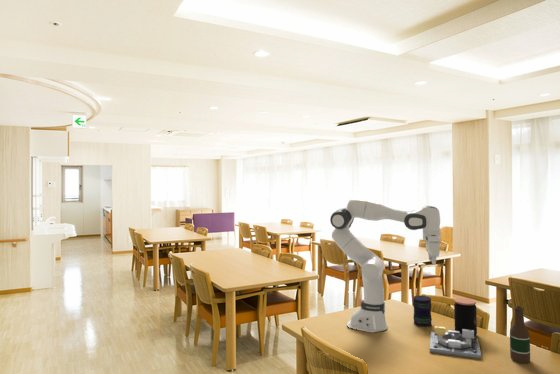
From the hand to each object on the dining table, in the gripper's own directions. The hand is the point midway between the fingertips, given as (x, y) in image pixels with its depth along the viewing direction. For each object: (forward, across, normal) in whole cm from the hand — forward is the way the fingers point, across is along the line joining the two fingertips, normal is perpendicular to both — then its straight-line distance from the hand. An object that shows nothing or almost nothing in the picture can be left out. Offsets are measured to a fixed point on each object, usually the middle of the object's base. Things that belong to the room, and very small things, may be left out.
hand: (432, 262), depth 206 cm
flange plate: (+39, +14, +7) cm, 42 cm away
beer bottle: (+39, +25, +32) cm, 56 cm away
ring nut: (+36, +14, +7) cm, 40 cm away
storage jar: (+39, -17, -4) cm, 42 cm away
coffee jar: (+39, -4, +16) cm, 42 cm away
